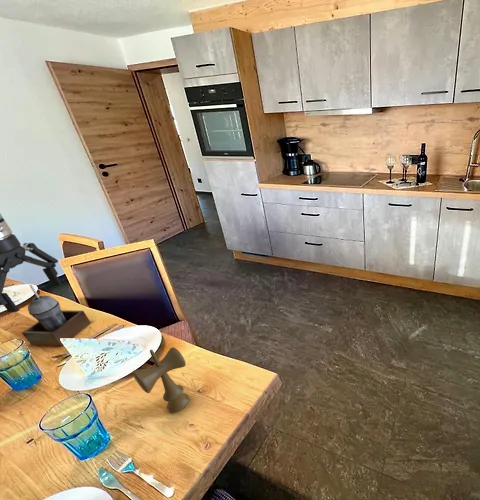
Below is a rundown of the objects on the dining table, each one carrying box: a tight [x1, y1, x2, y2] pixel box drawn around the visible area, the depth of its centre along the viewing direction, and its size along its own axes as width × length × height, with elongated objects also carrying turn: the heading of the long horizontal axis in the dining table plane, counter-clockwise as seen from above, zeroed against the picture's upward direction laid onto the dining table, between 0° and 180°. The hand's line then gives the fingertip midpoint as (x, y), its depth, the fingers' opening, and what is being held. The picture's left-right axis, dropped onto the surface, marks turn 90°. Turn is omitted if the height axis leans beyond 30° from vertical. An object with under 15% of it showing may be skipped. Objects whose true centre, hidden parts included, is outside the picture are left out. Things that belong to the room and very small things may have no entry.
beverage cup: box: [27, 284, 67, 332], centre depth 96 cm, size 7×7×20 cm
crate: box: [21, 309, 91, 347], centre depth 99 cm, size 11×11×6 cm
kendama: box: [132, 346, 190, 413], centre depth 70 cm, size 6×10×20 cm, turn 145°
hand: (37, 297), depth 93 cm, fingers open, 13 cm apart
